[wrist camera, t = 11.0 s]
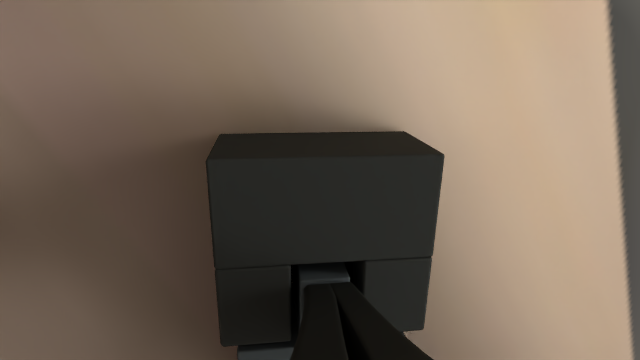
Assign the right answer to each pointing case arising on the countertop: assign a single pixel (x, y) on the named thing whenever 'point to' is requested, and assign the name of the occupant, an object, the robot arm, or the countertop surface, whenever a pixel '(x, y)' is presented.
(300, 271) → the grey t-shaped block
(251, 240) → the black notched block
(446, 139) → the countertop surface
